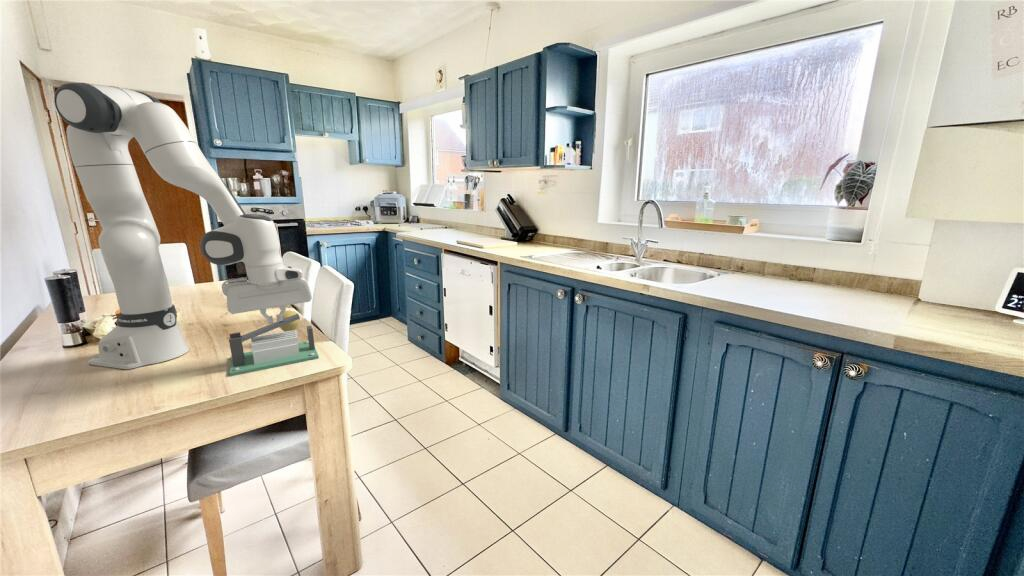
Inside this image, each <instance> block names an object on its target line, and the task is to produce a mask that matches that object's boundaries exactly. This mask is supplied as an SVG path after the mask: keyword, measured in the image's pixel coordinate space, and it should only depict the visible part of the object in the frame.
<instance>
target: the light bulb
mask: <svg viewBox="0 0 1024 576" xmlns="http://www.w3.org/2000/svg"><path fill="white" fill-rule="evenodd" d="M295 314H298V315H299V313H298V312H296V311H295V310H294V311H293V310H290V309H289V310H285V312H284V314H283V319H285V318H288V317H290V316H293V315H295ZM300 322H301V318H300V319H298V320H296V321H293V322H291V323H288V324H286V325H283V326H281V327H279V329H281V330H282V332H286V331H292V330H295V333H296V335H297V340H298V339H299V338H298V337H299V336H298V331H297V328H298V327H299V326H300Z"/></svg>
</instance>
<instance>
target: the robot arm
mask: <svg viewBox="0 0 1024 576" xmlns="http://www.w3.org/2000/svg"><path fill="white" fill-rule="evenodd" d="M53 98H54V101H53V102H54V105H55V109H56V111H57V113H58V115H59V116H60V118H61V119H62V120H63V121H64V122H65V123H66V124H68V125H67V127H66V132H65V133H66V138H67V139H66V140H67V146H68V151H69V154H70V159H71V162H72V163H73V166H74V169H75V172H76V175H77V177H78V180H79V183H80V185H81V187H82V188H81V189H82V191H83V193H84V196H85V198H86V201H87V202H88V204H89V205H90V207H91V209H92V211H93V212H94V214H95V217H96V218H97V221H98V223H99V224H100V227H101V229H102V230H101V232H100V234H99V236H98V245H99V246H98V247H99V249H100V252H101V255H102V259H103V261H104V263H105V267H106V270H107V271H108V274H109V277H110V279H111V283H112V284H113V287H114V292H115V296H116V300H117V304H118V307H119V313H116V314H113V315H111V317H113V318H112V320H116V319H117V322H116V326H115V327H113V329H112V330H110V331H109V332H108V333H107V334H105V335H104V336H103V337H102V338H101V339H99V342H98V346H97V347H98V354H97V355H95V356H94V357H91V358H90V359H89V360H88V364H89V365H92V366H99V367H105V368H114V369H120V370H122V369H123V370H131V369H135V368H139V367H142V366H143V367H144V366H147V365H153V364H159V363H162V362H166V361H169V360H173V359H175V358H178V357H181V356H182V355H185V354H186V353H188V352H189V350H190V348H189V346H188V343H187V340H186V339H185V338H184V336H183V333H182V330H181V327H180V324H179V321H178V320H177V317H178V315H177V309H176V306H175V305H174V304H173V301H172V296H171V291H170V287H169V283H168V277H167V274H166V271H165V269H164V266H163V265H164V264H163V262H162V258H161V253H160V248H159V247H160V244H161V236H160V233H159V230H158V227H157V225H156V221H155V220H154V219H155V218H154V217H153V214H152V211H151V209H150V207H149V204H148V202H147V200H146V196H145V195H144V194H145V193H144V192H143V189H142V185H141V182H140V179H139V177H138V174H137V171H136V167H135V165H134V162H133V160H132V156H131V154H130V151H129V143H130V141H131V140H132V139H134V140H136V141H137V143H138V144H139V146H140V148H141V150H142V152H143V154H144V155H145V157H146V158H147V161H148V162H149V164H150V166H151V167H152V169H153V170H154V171H155V172H156V174H158V176H159V177H160V178H161V179H163V181H166V183H168V184H171V185H173V186H175V187H179V188H182V189H185V190H187V191H190V192H192V193H193V194H196V195H198V196H199V197H201V198H202V199H204V200H205V201H206V202H207V204H209V206H210V207H211V209H212V210H213V211H214V213H215V214H216V216H217V217H218V219H219V220H220V222H221V223H222V224H223V226H221V227H218V228H215V229H212V230H209V231H207V232H206V233H204V234H203V235H202V236H201V239H200V243H199V248H200V253H201V254H202V255H203V257H204V258H205V259H206V260H207V261H208V262H209V263H211V264H213V265H217V266H229V265H234V264H237V263H241V262H242V263H243V264H244V267H245V268H244V269H245V271H246V272H245V273H246V276H242V277H236V278H228V279H227V280H225V281H224V282H223V283H222V284H221V290H222V294H223V295H224V296H225V297H226V305H227V306H226V307H227V312H229V313H230V314H232V315H236V314H241V313H243V314H244V313H248V312H254V311H260V314H261V315H262V317H264V318H265V319H266V323H267V325H270V324H272V323H274V318H273V315H269V314H267V310H268V309H273V308H279V310H280V312H279V314H276V316H275V317H276V322H282V321H283V314H284V312H285V311H287V310H286V306H290V305H297V304H302V303H309V302H311V300H312V299H313V296H312V291H311V288H310V286H309V283H308V282H307V279H306V278H305V277H304V272H303V270H302V269H301V268H299V267H298V266H297V267H296V266H289V265H284V261H283V259H282V256H281V253H280V252H281V251H280V250H281V244H280V240H279V239H280V238H279V235H278V230H277V228H276V225H275V223H274V222H275V221H274V220H273V219H272V218H270V217H269V216H266V215H262V214H258V213H257V214H256V213H253V214H252V213H246V212H245V211H244V210H243V208H242V205H241V204H240V203H239V202H238V200H237V198H236V197H235V196H234V194H233V192H232V190H230V189H229V187H228V185H227V184H226V183H225V181H224V180H223V179H222V177H221V176H220V175H219V174H218V173H217V171H216V170H215V169H214V168H213V167H212V165H211V164H210V162H209V161H208V159H207V158H206V157H205V155H204V153H203V152H202V150H201V148H200V147H199V145H198V142H197V140H196V139H195V138H194V136H193V134H192V133H191V131H190V129H189V128H188V127H187V125H186V124H185V123H184V121H183V120H182V118H180V116H179V115H178V113H177V112H176V111H175V110H174V109H173V108H171V107H170V106H169V105H167V104H164V103H162V102H161V101H160V100H159V99H157V98H156V97H154V96H152V95H150V94H147V93H145V92H142V91H136V90H135V91H134V90H131V89H128V88H123V87H118V86H115V85H113V86H112V85H109V86H108V85H103V84H102V85H101V84H90V83H86V82H68V83H64V84H62V85H60V86H59V87H57V89H56V91H55V93H54V97H53Z"/></svg>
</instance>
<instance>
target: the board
mask: <svg viewBox="0 0 1024 576" xmlns="http://www.w3.org/2000/svg"><path fill="white" fill-rule="evenodd" d="M306 331H307V332H306V333H307V340H305V341H302V342H299V340H298V339H297V337H298V334H297V335H296V333H295V330H292V331H286V332H284V331H280V332H275V333H274V332H273V333H269V334H261V335H258V336H256V337H253V338H251V339H250V342H251V343H250V344H251V346H250V347H251V351H246V352H245V351H244V347H243V342H241V341H240V337H239V336H242V335H241V334H242V333H241V332H232V333H229V339H228V342H229V348H230V353H231V354H230V355H231V356H230V364H229V376H230V377H233V376H237V375H242V374H248V373H253V372H259V371H263V370H267V369H272V368H278V367H282V366H287V365H291V364H292V365H294V364H298V363H302V362H307V361H312V360H317V359H319V358H320V357H319V354H318V351H317V349H316V347H315V341H314V339H315V338H314V337H315V336H314V331H313V327H312V325H306ZM238 337H239V338H238Z"/></svg>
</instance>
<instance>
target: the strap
mask: <svg viewBox="0 0 1024 576" xmlns="http://www.w3.org/2000/svg"><path fill="white" fill-rule="evenodd" d="M298 319H300V320H301V317H300V314H299V313H298V314H295V315H293V316H290V317H288V318H285V319H283V321H282V322H277V321H275V322H273V323H271V324H267V325H265V326H263V327H259V328H258V329H255V330H252V331H250V332H248V333H244V334H242V335H241V336H239V337H240V341H241V342H242V343H244V342H246V341H248V340H251V338H253V337H256V336H262V335H264V334H266V333H268V332H270V331H271V332H272V330H275V329H278V328H280V327H281V326H283V325H286V324H288V323H291V322H293V321H296V320H298ZM239 337H238V338H239Z"/></svg>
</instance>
